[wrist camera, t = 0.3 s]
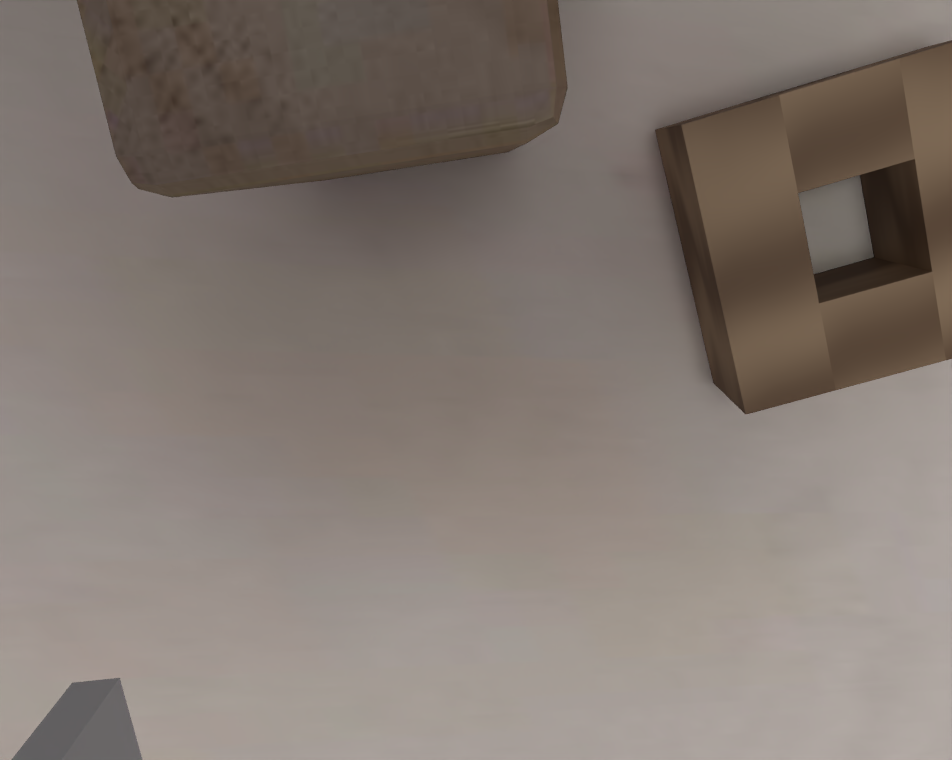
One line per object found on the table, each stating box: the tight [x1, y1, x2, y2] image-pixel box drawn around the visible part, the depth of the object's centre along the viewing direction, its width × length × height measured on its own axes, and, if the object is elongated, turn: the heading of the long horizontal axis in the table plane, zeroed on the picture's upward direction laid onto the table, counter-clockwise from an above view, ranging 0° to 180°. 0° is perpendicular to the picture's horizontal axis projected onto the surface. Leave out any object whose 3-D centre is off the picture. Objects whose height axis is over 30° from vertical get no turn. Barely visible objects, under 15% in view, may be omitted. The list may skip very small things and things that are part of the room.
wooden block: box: [77, 0, 568, 197], centre depth 25 cm, size 10×10×20 cm
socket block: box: [655, 40, 952, 414], centre depth 34 cm, size 12×12×5 cm
